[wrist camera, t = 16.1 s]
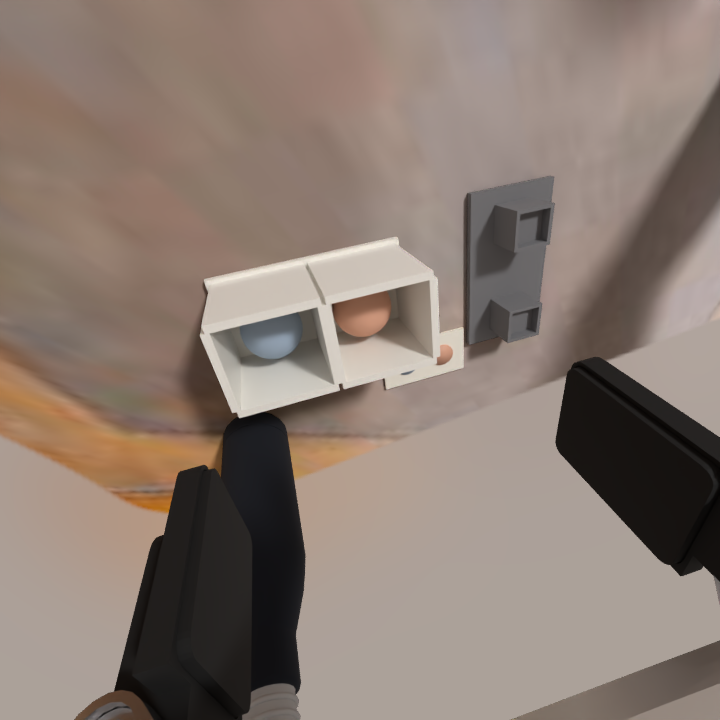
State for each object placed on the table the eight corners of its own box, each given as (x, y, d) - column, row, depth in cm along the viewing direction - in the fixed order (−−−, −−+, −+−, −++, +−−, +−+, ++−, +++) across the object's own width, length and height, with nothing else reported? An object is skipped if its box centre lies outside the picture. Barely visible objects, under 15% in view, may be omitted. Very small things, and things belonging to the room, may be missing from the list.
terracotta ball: (383, 263, 33) (393, 286, 29) (388, 315, 36) (398, 342, 32) (326, 273, 33) (328, 297, 29) (336, 324, 36) (339, 352, 32)
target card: (462, 327, 40) (464, 328, 40) (462, 366, 43) (464, 368, 42) (380, 348, 39) (381, 350, 38) (385, 388, 41) (386, 390, 41)
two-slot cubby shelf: (395, 236, 33) (437, 264, 26) (403, 321, 38) (441, 366, 31) (204, 278, 31) (193, 322, 24) (237, 364, 36) (235, 423, 28)
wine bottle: (272, 402, 39) (327, 895, 14) (295, 444, 42) (374, 897, 17) (211, 426, 38) (154, 981, 13) (240, 467, 42) (238, 965, 17)
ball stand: (549, 175, 34) (582, 180, 31) (532, 324, 42) (557, 340, 39) (467, 193, 33) (492, 199, 30) (466, 342, 41) (485, 360, 38)
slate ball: (292, 282, 32) (297, 305, 28) (304, 334, 35) (312, 361, 31) (232, 296, 32) (229, 321, 28) (250, 347, 34) (250, 377, 30)
